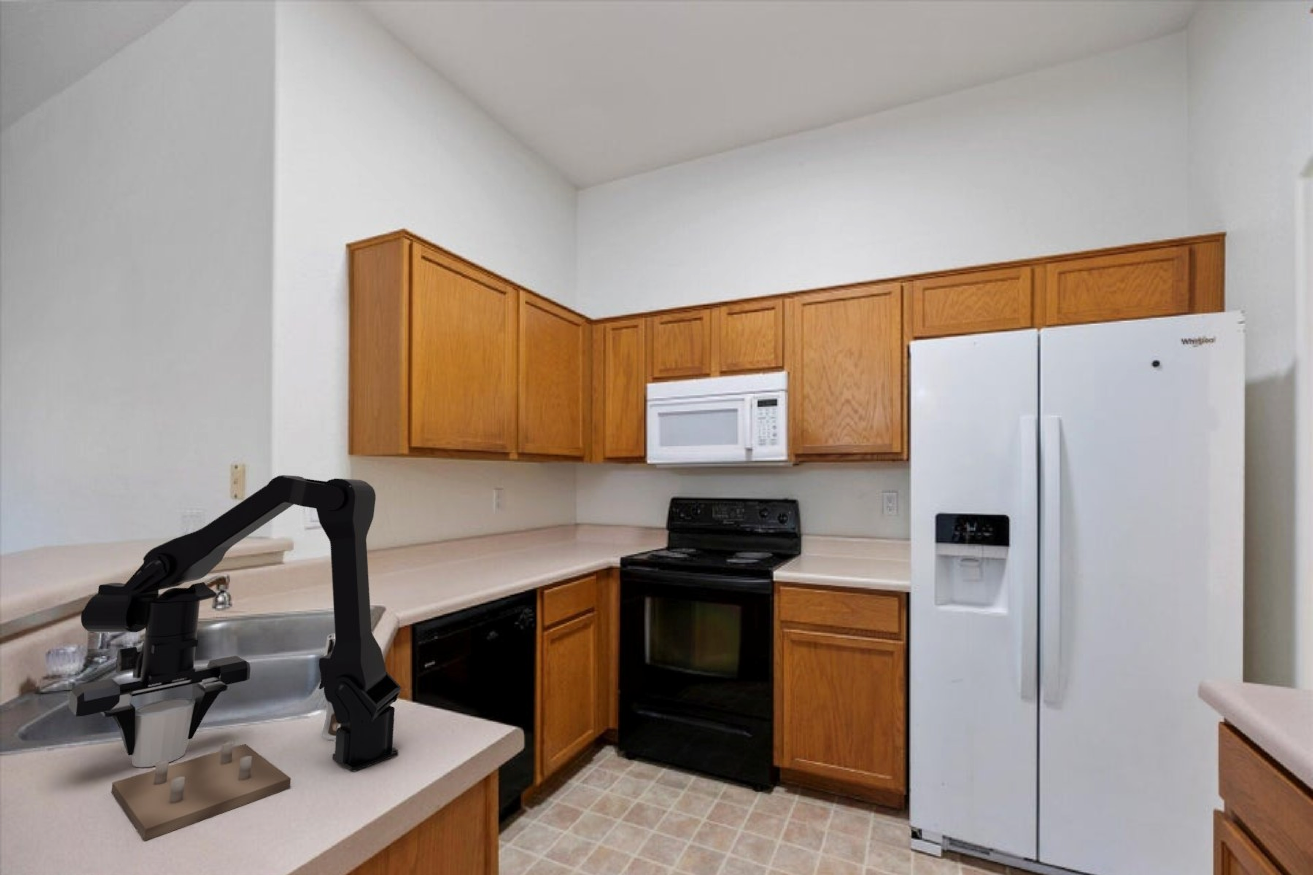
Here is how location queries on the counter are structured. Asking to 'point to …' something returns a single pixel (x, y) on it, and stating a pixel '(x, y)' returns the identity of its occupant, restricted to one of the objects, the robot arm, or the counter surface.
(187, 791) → the pin board
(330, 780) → the counter surface
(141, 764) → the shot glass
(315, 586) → the counter surface
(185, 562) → the robot arm
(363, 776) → the counter surface
